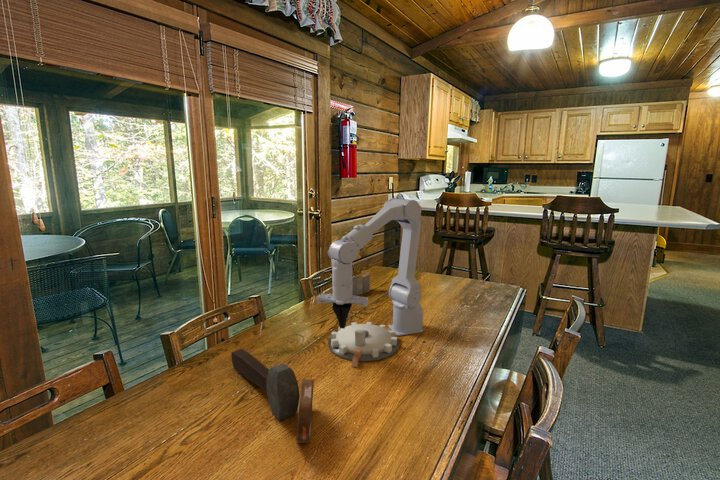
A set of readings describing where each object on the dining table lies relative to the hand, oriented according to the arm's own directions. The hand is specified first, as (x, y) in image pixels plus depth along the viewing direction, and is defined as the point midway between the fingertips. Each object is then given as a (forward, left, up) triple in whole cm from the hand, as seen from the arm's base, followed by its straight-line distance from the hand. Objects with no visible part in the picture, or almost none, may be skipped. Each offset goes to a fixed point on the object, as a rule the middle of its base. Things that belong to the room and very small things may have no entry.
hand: (342, 327), depth 109 cm
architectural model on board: (-21, -47, -9) cm, 52 cm away
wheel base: (-7, -3, -8) cm, 11 cm away
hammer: (+25, +12, -8) cm, 28 cm away
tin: (+17, +28, -8) cm, 34 cm away
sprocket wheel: (-7, -3, -8) cm, 11 cm away
